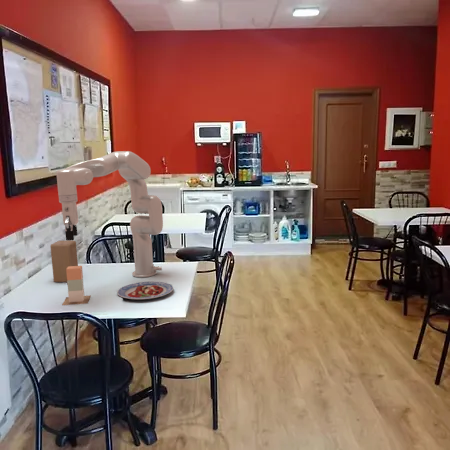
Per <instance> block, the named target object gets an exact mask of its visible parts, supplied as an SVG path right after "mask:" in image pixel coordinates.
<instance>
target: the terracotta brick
mask: <svg viewBox="0 0 450 450" xmlns="http://www.w3.org/2000/svg"><path fill="white" fill-rule="evenodd" d="M66 272H67V280H80V279H82V277H83V278H84V275H83V274H84V273H83V265H78V266H69V267H67V269H66Z"/></svg>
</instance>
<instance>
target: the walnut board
mask: <svg viewBox="0 0 450 450" xmlns="http://www.w3.org/2000/svg"><path fill="white" fill-rule="evenodd" d="M84 297H85V298H84V301H81V302H69V296H67V297H65V299H64V301H63V302H62V306H72V305H84V304H89V303H90V300H91V298H92V295H84Z"/></svg>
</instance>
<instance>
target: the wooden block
mask: <svg viewBox="0 0 450 450" xmlns="http://www.w3.org/2000/svg"><path fill="white" fill-rule="evenodd" d="M77 251H78V250H77V242H76V240H58V241H55V242H53V243H51V244H50V255H51V256H50V257H51V267H52V278H53V282H55V283H67V272H66V269H67V267H69V266H79V264H78V263H79V262H78V252H77Z"/></svg>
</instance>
